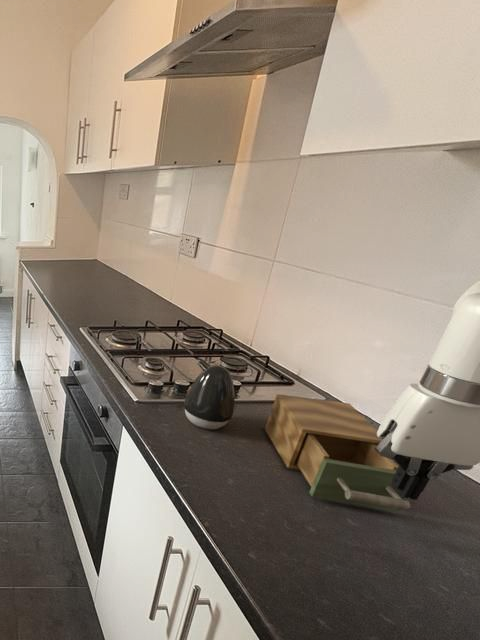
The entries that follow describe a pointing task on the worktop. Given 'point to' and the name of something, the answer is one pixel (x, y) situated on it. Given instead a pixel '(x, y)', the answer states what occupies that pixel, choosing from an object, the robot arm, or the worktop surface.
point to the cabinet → (313, 424)
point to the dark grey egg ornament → (210, 398)
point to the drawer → (349, 472)
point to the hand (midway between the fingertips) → (403, 492)
